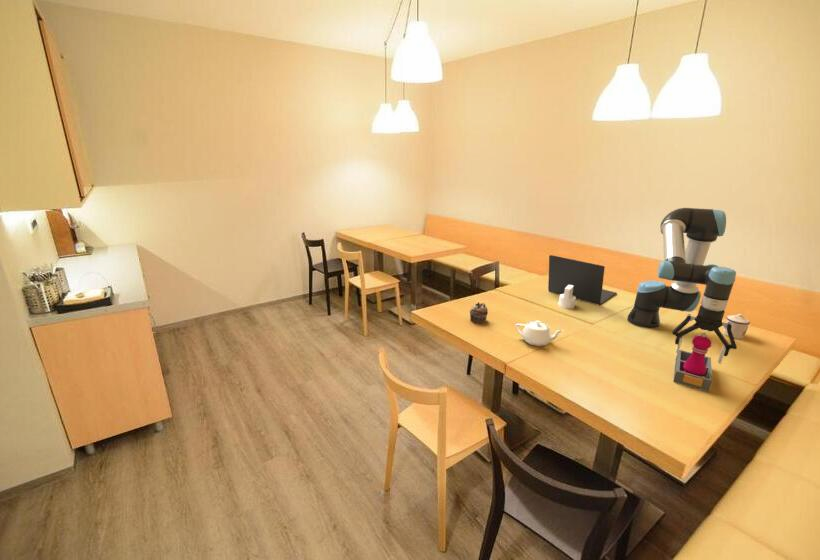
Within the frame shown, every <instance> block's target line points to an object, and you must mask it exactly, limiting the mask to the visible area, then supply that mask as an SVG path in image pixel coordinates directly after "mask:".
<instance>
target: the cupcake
mask: <svg viewBox="0 0 820 560" xmlns="http://www.w3.org/2000/svg"><path fill="white" fill-rule="evenodd" d="M469 317H470V321H471V322H473V323H474V324H477V323H478V324H483V323H485V322H486V320H487V317H488V307H487V306H486V303H485V302H481V303H480V302H477V303H475V304H474V305H473V306H472V307H471V309H470V310H469Z"/></svg>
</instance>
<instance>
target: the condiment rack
mask: <svg viewBox="0 0 820 560" xmlns="http://www.w3.org/2000/svg"><path fill="white" fill-rule="evenodd" d="M691 354H692V351H691V352H690V351H685V350H682V349H679V353H676V356H675V361H676V362H675V364H674V372H673V383H676V384H680V385H683V386H686V387H689V388H694V389H697V390H701V391H704V392H706V393H709V392H710V390H711V387H712V384H713V373H712V372H713V371H712V358H711V357H710V356H707V355H705V357H704V361H705V365H706V372H705V373H704V374H703V375H702V377H700V376H696V375H693V374H689V373H686V372H684V370H685V369H684V367H683V366H684V363H685V362H686V360H687V359H688V358H689V357H690V356H691Z"/></svg>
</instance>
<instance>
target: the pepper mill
mask: <svg viewBox="0 0 820 560" xmlns="http://www.w3.org/2000/svg"><path fill="white" fill-rule="evenodd" d="M691 343H692V345H691V350H692V351H691V353H692V354H691V356H690V357H689V358H688V359H687V360H686V362H685V363H684V366H683V367H684V369H685V370H684V372H686V373H689V374H693V375H696V376H700V377H702V375H703V374H704V373H705V372H706V365H705V361H704V357H705V356H706V354H707V353H708V351H709V349H710V348H711V347H712V341H711V339H710V338H709V337H708V336H707V333H706V332H701V334H700V335H696V336H695V335H694V337H693V338H692V340H691Z"/></svg>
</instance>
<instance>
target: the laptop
mask: <svg viewBox="0 0 820 560" xmlns="http://www.w3.org/2000/svg"><path fill="white" fill-rule="evenodd" d="M605 268H606V267H605V265H600V264H595V263H591V262H586V261H582V260H577V259H572V258H567V257H562V256H557V255H553V254H549V256H548V283H547V284H548V285H547V286H548V288H547V289H548V292H551V293H555V294H558V295H561V294H564V291H565V288H566V287H567V286H568V285H573V286H574V287H573V293H572V295H573V296H575V297H576V300H579V301H584V302H587V303H590V304H593V305H594V304H595V305H597V304H598V306H601V305H602V304H605V302H607V301H608V300H610V299H611V298H613V297H615V296H616V295H617V294H618V293H617V292H616V291H612V290H611V291H610V290H607V289H604V288H603V286H604V285H603V284H604V276H605Z"/></svg>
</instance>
